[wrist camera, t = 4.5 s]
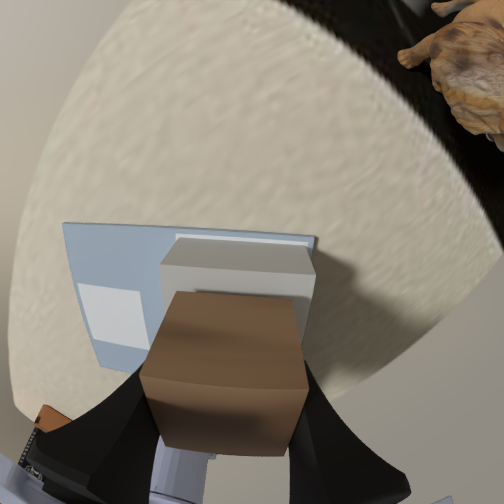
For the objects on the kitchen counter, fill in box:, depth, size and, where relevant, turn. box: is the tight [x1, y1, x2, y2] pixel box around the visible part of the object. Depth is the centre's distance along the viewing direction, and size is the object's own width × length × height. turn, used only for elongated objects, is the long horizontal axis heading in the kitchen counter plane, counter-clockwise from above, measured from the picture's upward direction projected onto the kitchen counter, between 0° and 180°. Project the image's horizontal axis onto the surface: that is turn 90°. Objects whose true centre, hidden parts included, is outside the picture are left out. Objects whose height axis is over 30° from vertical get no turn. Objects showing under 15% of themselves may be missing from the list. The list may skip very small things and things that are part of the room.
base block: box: [159, 237, 316, 346], centre depth 15 cm, size 7×7×4 cm
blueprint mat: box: [62, 222, 315, 374], centre depth 18 cm, size 13×16×1 cm
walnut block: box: [139, 291, 309, 456], centre depth 10 cm, size 5×5×5 cm
